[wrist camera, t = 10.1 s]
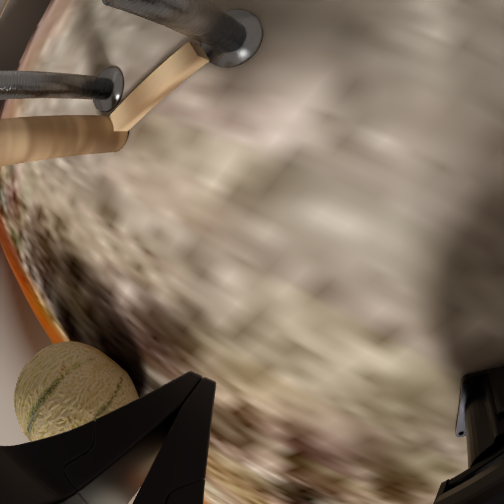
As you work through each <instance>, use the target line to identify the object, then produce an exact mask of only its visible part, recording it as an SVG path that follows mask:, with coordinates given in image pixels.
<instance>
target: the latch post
mask: <svg viewBox="0 0 504 504" xmlns="http://www.w3.org/2000/svg"><path fill="white" fill-rule="evenodd" d="M123 88H124V78H123V75H122V73H121V71H120V70H119V69H117V68H114V67H109V68H106V69H105V70H103V71H102V72H101V73H100V75H99V76H98V77H97V76H88V75H79V74H68V73H54V72H36V71H0V99H22V98H70V99H93V102H94V105H95V107H96V108H97V109H98V110H100V111H109V110H111V109H113V108H114V107H115V106H116V105H117V103H118V102H119V100H120V98H121V96H122V93H123Z"/></svg>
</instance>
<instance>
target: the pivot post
mask: <svg viewBox="0 0 504 504" xmlns="http://www.w3.org/2000/svg"><path fill="white" fill-rule="evenodd" d="M102 2H103V3H104V4H105V5H108V6H111V7H114V8H117V9H120V10H123V11H126V12H129V13H132V14H134V15H137V16H140V17H143V18H145V19H148V20H151V21H153V22H156V23H158V24H161V25H163V26H166V27H168V28H171V29H173V30H175V31H178V32H180V33H182V34H184V35H187V36H189V37H191V38H193V39H196V40H198V41H200V42H201V47H202V48H203V50H204V52H205V53H206V55H207V57H208V58H209V60H210V61H209V62H211V63H212V64H214V65H217V66H220V67H234V66H237V65H240V64H242V63H244V62H246V61H247V60H249V59H250V58H251V57H252V56H253V55H254V54H255V53H256V51H257V50H258V48H259V46H260V44H261V41H262V37H263V30H262V26H261V23H260V21H259V20H258V19H257V18H256V17H255V16H254V15H253V14H252V13H250V12H248V11H245V10H241V9H233V10H228V11H225V12H224V11H223V10H221V9H220V8H218V7H217V6H215V5H214V4H212V3H211V2H209V1H208V0H102Z"/></svg>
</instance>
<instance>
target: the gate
mask: <svg viewBox="0 0 504 504" xmlns="http://www.w3.org/2000/svg"><path fill="white" fill-rule="evenodd" d="M209 61H210V60H209V58H208V57H207V55H206V53H205V52H204V50H203V48H202V47H201V46H199V45H197V44H194V43H192V42H190V41H188V42H187V43H186V44H185V45H184V46H182V47H181V48H180V49H179V50H178V51H176V52H175V53H174V54H173V55H172V56H170V57H169V58H168V59H167V60H166V61H165V62H164V63H163V64H161V65H160V66H159V67H158V68H157V69H156V70H155V71H154V72H153V73H151V74H150V75H149V76H148V77H147V78H146V79H145V80H144V81H143V82H142V83H141V84H140V85H139V86H138V87H137V88H136V89H135V90H134V91H133V92H132V93H131V94H130V95H129V96H128V97H127V98H126V99H125V100H124V101H123V102H122V103H121V104H120V105H119V106H118V107H117V108H116V109H115V110H114V111H113V113H112V114H111V115H110V116H101V115H62V116H35V117H19V118H6V119H0V167H1V166H6V165H12V164H18V163H24V162H30V161H37V160H44V159H51V158H59V157H67V156H75V155H85V154H95V153H106V152H117V151H119V150H121V149H122V148H123V146H124V145H125V143H126V140H127V136H128V131H129V130H130V129H131V128H132V127H133V126H134V125H135V124H136V123H137V122H138V121H139V120H140V119H141V118H142V117H143V116H144V115H145V114H146V113H148V112H149V111H150V110H151V109H152V108H153V107H154V106H155V105H156V104H158V103H159V102H160V101H161V100H162V99H163V98H164V97H166V96H167V95H168V94H169V93H170V92H171V91H173V90H174V89H175V88H176V87H177V86H179V85H180V84H181V83H182V82H183V81H185V80H186V79H187V78H188V77H190V76H191V75H192V74H193V73H195V72H196V71H197V70H199V69H200V68H201V67H202V66H204V65H205V64H206V63H208V62H209Z"/></svg>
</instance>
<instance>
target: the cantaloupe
mask: <svg viewBox="0 0 504 504" xmlns="http://www.w3.org/2000/svg"><path fill="white" fill-rule="evenodd" d="M138 398H139V396H138V394H137V391H136V389H135V386H134V384H133V382H132V380H131V378H130V376H129V375H128V373H127V372H126V371H125V370H124V369H122V368H121V367H120V366H119V365H118V364H117V363H116V362H115V361H113V360H112V359H111V358H109V357H108V356H107V355H105V354H104V353H103V352H101V351H100V350H98V349H97V348H95V347H92V346H90V345H87V344H83V343H80V342H73V341H69V342H60V343H56V344H53V345H50V346H48V347H46V348H44V349H42V350H41V351H39V352H38V353H37V354H36V355H34V356H33V357H32V358H31V359H30V360H29V362H28V363H27V364H26V365H25V366H24V368H23V369H22V371H21V373H20V376H19V377H18V381H17V384H16V388H15V395H14V406H15V412H16V416H17V419H18V421H19V424H20V426H21V428H22V430H23V432H24V434H25V436H26V437H27V438H28V440H29V441H30V442H32V441H35V440H39V439H43V438H47V437H50V436H54V435H57V434H60V433H63V432H66V431H69V430H72V429H74V428H77V427H79V426H81V425H84V424H86V423H88V422H90V421H92V420H96V419H97V418H99V417H101V416H103V415H105V414H108V413H110V412H112V411H114V410H116V409H118V408H120V407H122V406H124V405H126V404H128V403H130V402H132V401H134V400H136V399H138Z"/></svg>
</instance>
